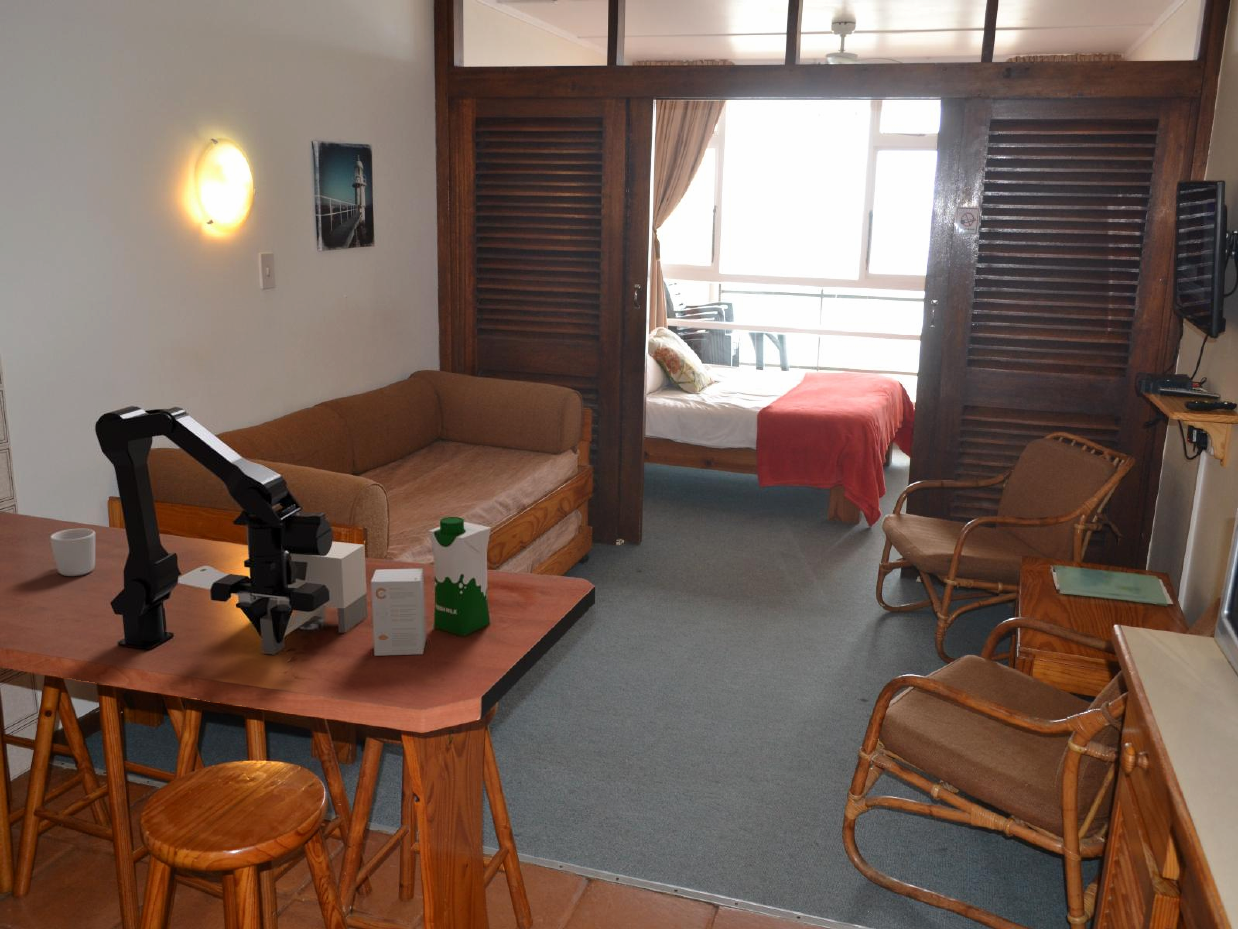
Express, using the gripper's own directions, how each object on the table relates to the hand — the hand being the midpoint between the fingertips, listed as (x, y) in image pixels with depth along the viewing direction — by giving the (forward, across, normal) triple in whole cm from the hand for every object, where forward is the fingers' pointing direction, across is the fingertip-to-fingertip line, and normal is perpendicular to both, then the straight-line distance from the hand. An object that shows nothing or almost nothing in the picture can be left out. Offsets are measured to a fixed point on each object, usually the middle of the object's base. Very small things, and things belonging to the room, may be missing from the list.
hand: (272, 641), depth 175 cm
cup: (+2, +60, -24) cm, 65 cm away
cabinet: (+2, +2, -15) cm, 15 cm away
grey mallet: (+1, 0, -6) cm, 7 cm away
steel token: (+2, 0, -11) cm, 12 cm away
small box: (+2, -19, -8) cm, 21 cm away
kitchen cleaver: (+3, +22, -24) cm, 33 cm away
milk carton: (+2, -25, -20) cm, 32 cm away
